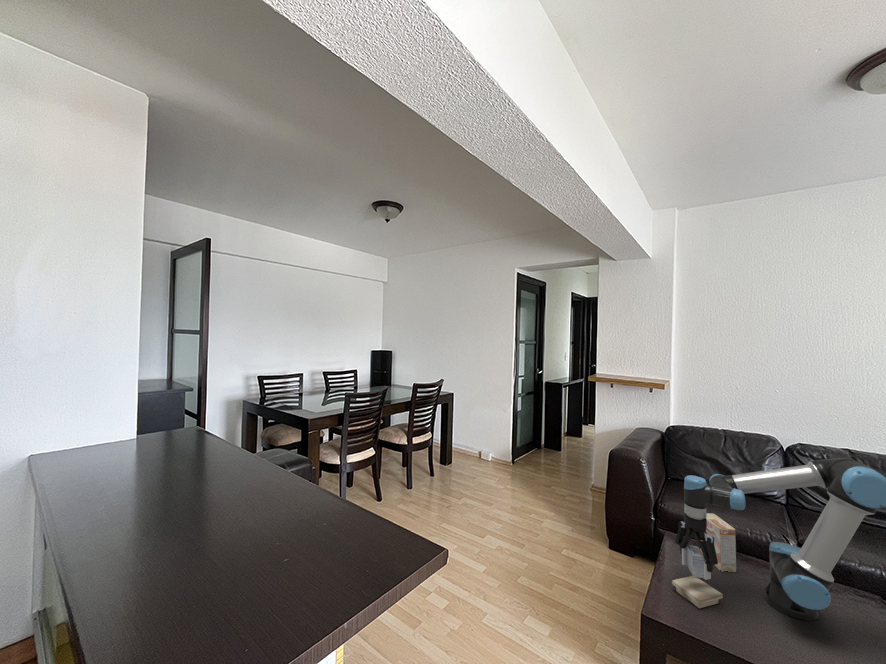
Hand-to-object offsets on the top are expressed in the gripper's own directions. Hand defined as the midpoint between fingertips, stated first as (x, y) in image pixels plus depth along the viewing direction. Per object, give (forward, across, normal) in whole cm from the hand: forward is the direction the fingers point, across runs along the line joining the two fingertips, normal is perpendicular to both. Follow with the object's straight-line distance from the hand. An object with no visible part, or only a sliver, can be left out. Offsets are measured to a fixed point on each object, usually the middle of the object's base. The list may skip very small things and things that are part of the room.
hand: (695, 571), depth 145 cm
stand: (+10, 0, 0) cm, 10 cm away
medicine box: (+1, 0, 0) cm, 1 cm away
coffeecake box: (+11, +15, -32) cm, 37 cm away
